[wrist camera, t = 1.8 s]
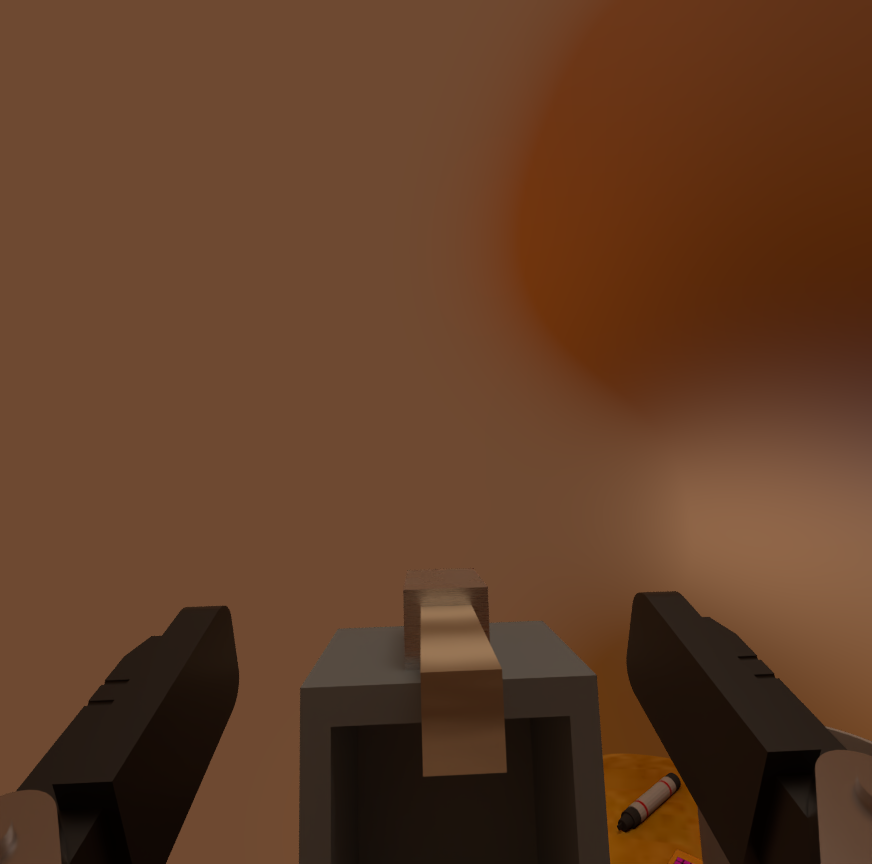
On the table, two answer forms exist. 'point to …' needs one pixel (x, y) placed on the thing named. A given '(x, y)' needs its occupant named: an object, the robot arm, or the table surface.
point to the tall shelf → (453, 794)
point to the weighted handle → (455, 672)
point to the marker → (648, 802)
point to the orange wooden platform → (684, 858)
